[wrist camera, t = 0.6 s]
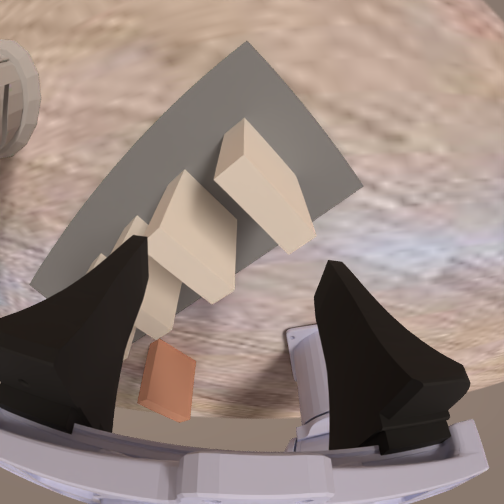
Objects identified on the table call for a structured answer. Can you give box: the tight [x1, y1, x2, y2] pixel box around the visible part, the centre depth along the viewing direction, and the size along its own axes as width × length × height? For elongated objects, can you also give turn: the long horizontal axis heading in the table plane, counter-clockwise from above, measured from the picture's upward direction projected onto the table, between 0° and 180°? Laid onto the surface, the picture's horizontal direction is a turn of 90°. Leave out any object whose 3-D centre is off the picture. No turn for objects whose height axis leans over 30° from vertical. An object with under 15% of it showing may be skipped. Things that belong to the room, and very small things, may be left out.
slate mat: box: [29, 41, 363, 343], centre depth 23 cm, size 28×12×1 cm, turn 130°
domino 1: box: [144, 169, 237, 305], centre depth 18 cm, size 2×5×7 cm, turn 41°
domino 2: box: [111, 216, 182, 340], centre depth 20 cm, size 2×5×7 cm, turn 40°
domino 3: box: [137, 339, 196, 423], centre depth 29 cm, size 2×5×7 cm, turn 40°
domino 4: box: [214, 118, 316, 255], centre depth 16 cm, size 2×5×7 cm, turn 41°
